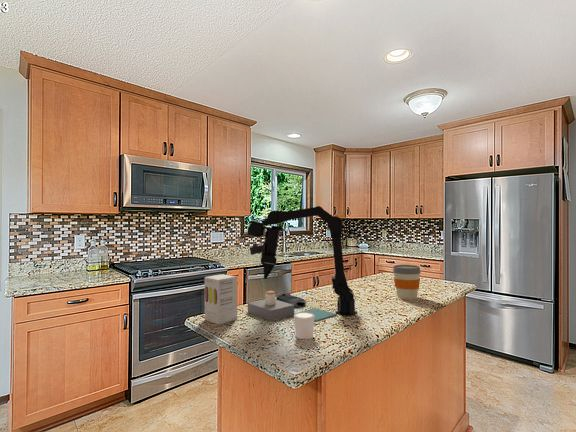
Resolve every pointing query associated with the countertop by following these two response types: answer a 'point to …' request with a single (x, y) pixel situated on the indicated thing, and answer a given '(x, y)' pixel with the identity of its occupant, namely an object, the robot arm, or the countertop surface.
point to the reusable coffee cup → (406, 281)
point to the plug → (270, 298)
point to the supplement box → (220, 298)
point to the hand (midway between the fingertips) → (265, 276)
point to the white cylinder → (304, 325)
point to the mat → (319, 314)
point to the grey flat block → (271, 309)
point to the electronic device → (291, 299)
